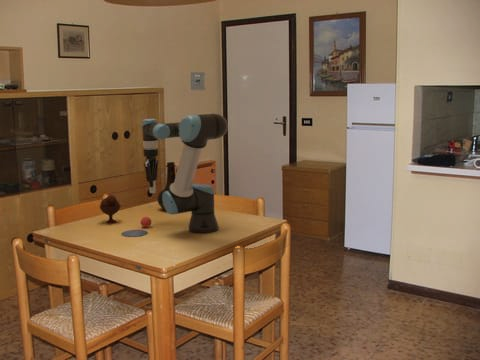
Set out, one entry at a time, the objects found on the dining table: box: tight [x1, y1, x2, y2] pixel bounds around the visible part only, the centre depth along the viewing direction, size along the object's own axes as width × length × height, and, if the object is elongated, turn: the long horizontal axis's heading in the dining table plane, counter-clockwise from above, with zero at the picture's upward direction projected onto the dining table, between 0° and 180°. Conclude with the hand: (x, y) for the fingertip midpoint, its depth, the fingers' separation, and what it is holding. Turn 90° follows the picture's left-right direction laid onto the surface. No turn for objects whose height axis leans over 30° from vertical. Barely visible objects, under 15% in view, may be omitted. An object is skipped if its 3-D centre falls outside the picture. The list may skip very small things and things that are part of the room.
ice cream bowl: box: [99, 194, 122, 224], centre depth 306 cm, size 11×11×15 cm
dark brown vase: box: [157, 161, 177, 211], centre depth 333 cm, size 18×18×28 cm
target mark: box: [120, 229, 149, 238], centre depth 283 cm, size 13×13×1 cm
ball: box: [140, 216, 152, 228], centre depth 295 cm, size 6×6×6 cm
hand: (152, 192), depth 301 cm, fingers closed
